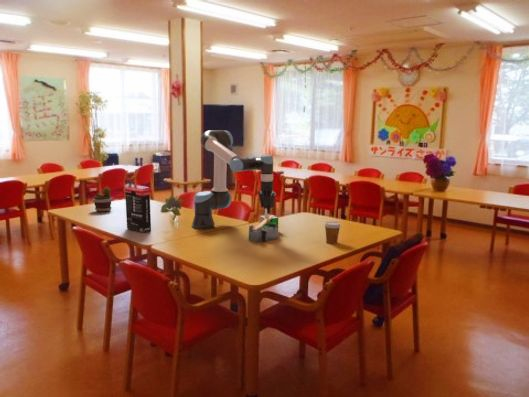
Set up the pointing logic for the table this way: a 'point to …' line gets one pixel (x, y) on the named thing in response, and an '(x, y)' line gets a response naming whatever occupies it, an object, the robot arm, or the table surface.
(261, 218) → the puzzle cube
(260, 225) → the strap
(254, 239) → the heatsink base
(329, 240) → the disposable coffee cup
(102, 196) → the flowerpot
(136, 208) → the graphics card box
